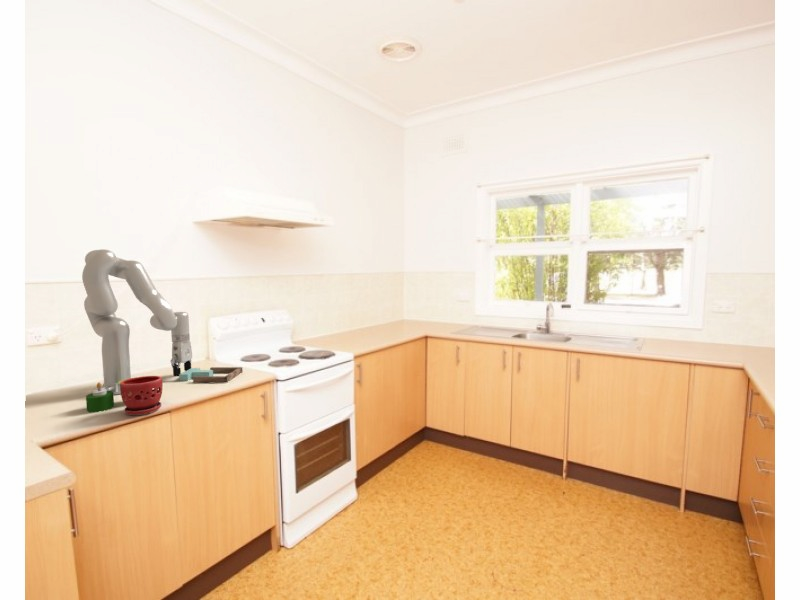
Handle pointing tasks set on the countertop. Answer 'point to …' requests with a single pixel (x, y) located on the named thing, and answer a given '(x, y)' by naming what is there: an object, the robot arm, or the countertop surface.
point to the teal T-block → (194, 374)
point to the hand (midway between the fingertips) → (182, 373)
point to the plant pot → (141, 394)
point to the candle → (99, 400)
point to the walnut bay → (233, 373)
